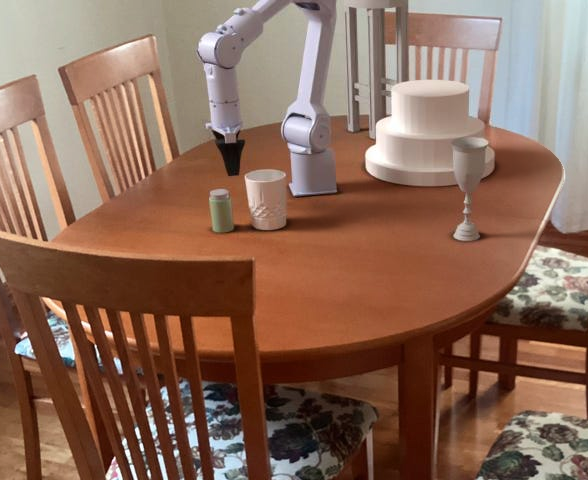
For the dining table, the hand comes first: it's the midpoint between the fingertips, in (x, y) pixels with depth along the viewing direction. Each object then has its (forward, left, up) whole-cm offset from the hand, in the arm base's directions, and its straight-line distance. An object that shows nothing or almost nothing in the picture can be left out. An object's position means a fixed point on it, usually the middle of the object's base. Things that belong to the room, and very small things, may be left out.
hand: (231, 169), depth 183 cm
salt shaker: (+3, +8, -9) cm, 13 cm away
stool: (-42, -54, -10) cm, 69 cm away
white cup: (-6, +8, -10) cm, 14 cm away
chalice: (-42, +24, -10) cm, 49 cm away
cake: (-47, -21, -10) cm, 52 cm away
